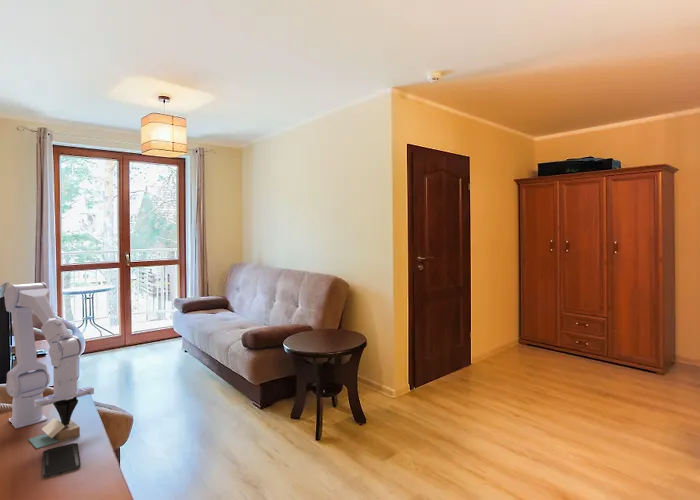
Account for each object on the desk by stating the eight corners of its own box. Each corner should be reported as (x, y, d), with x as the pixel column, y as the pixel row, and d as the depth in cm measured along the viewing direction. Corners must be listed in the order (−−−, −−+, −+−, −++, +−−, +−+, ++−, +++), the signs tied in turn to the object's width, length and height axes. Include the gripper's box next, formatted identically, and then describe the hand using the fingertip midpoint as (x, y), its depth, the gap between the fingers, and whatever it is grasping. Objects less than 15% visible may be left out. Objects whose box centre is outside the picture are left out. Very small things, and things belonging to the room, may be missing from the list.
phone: (77, 442, 113) (80, 465, 101) (77, 446, 113) (80, 470, 101) (42, 450, 109) (41, 476, 97) (42, 454, 109) (41, 481, 97)
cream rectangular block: (45, 432, 118) (41, 429, 117) (58, 420, 120) (54, 417, 120) (51, 438, 114) (47, 435, 113) (65, 426, 117) (61, 423, 116)
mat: (28, 440, 116) (28, 438, 116) (49, 433, 120) (49, 432, 120) (36, 449, 111) (36, 448, 111) (58, 442, 115) (58, 441, 115)
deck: (50, 433, 120) (50, 424, 120) (70, 427, 124) (70, 419, 124) (59, 441, 115) (59, 433, 115) (79, 435, 119) (79, 427, 119)
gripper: (39, 389, 111) (39, 437, 111) (97, 375, 122) (97, 419, 123) (32, 383, 115) (32, 429, 116) (89, 371, 127) (88, 413, 127)
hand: (65, 424), depth 119 cm, fingers closed
